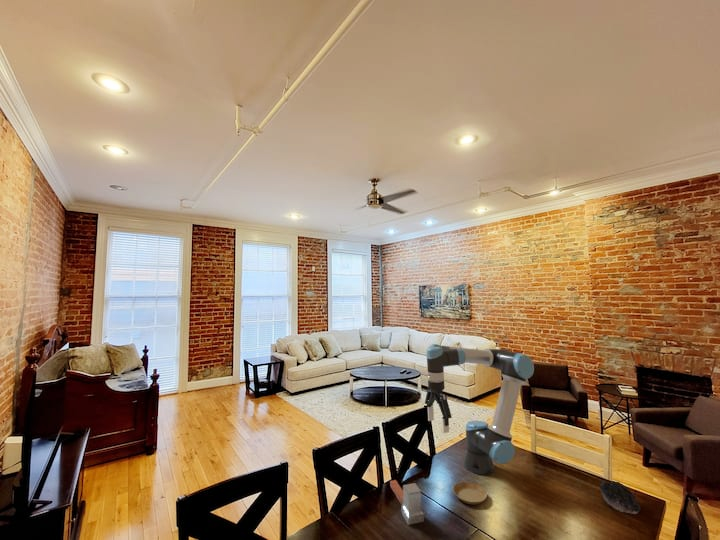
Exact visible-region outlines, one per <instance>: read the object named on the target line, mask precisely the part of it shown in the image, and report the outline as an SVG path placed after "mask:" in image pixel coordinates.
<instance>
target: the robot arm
mask: <svg viewBox="0 0 720 540" xmlns="http://www.w3.org/2000/svg"><path fill="white" fill-rule="evenodd" d="M463 364H477V365H483V366H485V367H487V368H488V367H489V368H493V369H495V370H497V371H501V377H502V378H503V379H502V383H501V386H500V391H499V395H498V398H497V403H496V406H495V410H494V415H493V418H492V422H491V425H489V423H487V422H485V421H482V420H471V421H468V422H467V423H466V424H465V441H466V443H465V444H466V450H465V454H464V458H463V467H464V468H465V470H467V471H469V472H470V473H473V474H476V475H486V476H487V475H490V474H492V473H493V472H494V462H496V463H497V464H501V465H504V464H507V463H509V462H511V461H512V460H513V458H514V455H515V451H516V450H515V445H514V443H513V442H512V439H513V436H512V434H511V429H512V425H513V422H514V421H513V420H514V416H515V412H516V408H517V404H518V399H519V395H520V391H521V387H522V385H524V384H525V383H526V381H527V379H530V378H531V377H533V375H534V371H535V366H534V362H533V360H532V358H531V357H530V356H529V355H526V354H524V353H522V352H518V351H517V352H516V351H512V350H507V349H497V348H496V349H495V348H492V349H491V348H484V349H474V348H466V347H458V346H457V347H456V346H448V345H440V344H437V343H436V344H434V343H433V344H431V345H429V347H427V349H426V368H427V374H426V375H427V379H428V381H427V388H426V389H427V390H426V395H425V400H424V404H425V405H426V407H427V421H428V422H433V421H434V420H435V415H434V414H435V413H434V403H435V402H436V404H438V407H439V409H440V412H441V414H442V418H441V419H442V421H441V422H442V433H443V434H447V433H449V432H450V422H449V420H450V419H452V414H451V410H450V406H449V402H448V397H447V396H448V395H447V394H444V393H443V391H444V390H445V381H444V380H445V371H444V368H445V367H452V366H460V365H463Z"/></svg>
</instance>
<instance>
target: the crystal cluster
mask: <svg viewBox="0 0 720 540" xmlns="http://www.w3.org/2000/svg"><path fill="white" fill-rule="evenodd" d="M599 487H600V492H601V496H602V497H603V499H604V501H606V503H607V504H608V506H611V507H612V508H613V509H615V510H617V511H618V512H621V513H627V514H631V515H636V514H638V513H639V512H640V511H641V506H640V504H639V502H638V501H637V498H636V496H635V495H634V493H633V492H632V491H631V490H630V489H628V488H627V486H625V485H624V484H623V483H622V482H619V481H615V480H611V481H610V482H608V481H606V480H604V481H602V482H601V483H599Z"/></svg>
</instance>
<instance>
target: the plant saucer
mask: <svg viewBox="0 0 720 540" xmlns="http://www.w3.org/2000/svg"><path fill="white" fill-rule="evenodd" d="M452 491H453V493H454V494H455V496H456V498H458V499H459V500H460V501H462V502H463V503H465V504H468V505H479V504H481V503H483V502H484V501H485V500H486V499H487V497H488V494H487V491H486V490H485V488H483V487H482V486H480V485H479V484H477V483H474V482H470V481H460V482H456V483H455V484H454V485H453V487H452Z"/></svg>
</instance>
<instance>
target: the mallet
mask: <svg viewBox="0 0 720 540" xmlns="http://www.w3.org/2000/svg"><path fill="white" fill-rule="evenodd" d="M389 485H390V488H391V490H392V492H393V493H394V495H395V496H396V498H397V500H398V502H399V504H400V505H401V507H400V508H401V515H402V516H403V518H404V520H405V522H406V524H407V525H408V526H409V525H414V524H415V525H416V524H418V523H422V522H425V516H424V515H425V514H424V512H423V511H422V510H421V513H419V514H415V515H410V516H409V515H408V514H407V512H406V510H405V509H404V507H403V488H402V487H401V486H400V484H399V482H398V481H397V479H394V480H390V481H389Z"/></svg>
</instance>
